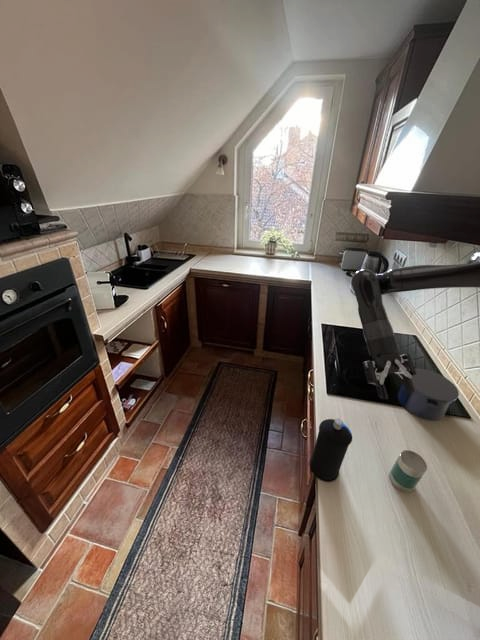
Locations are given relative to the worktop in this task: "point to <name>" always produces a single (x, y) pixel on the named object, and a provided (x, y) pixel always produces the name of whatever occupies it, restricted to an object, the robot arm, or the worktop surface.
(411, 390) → the robot arm
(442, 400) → the pot
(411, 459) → the tin can
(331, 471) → the aerosol can
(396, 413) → the worktop surface
